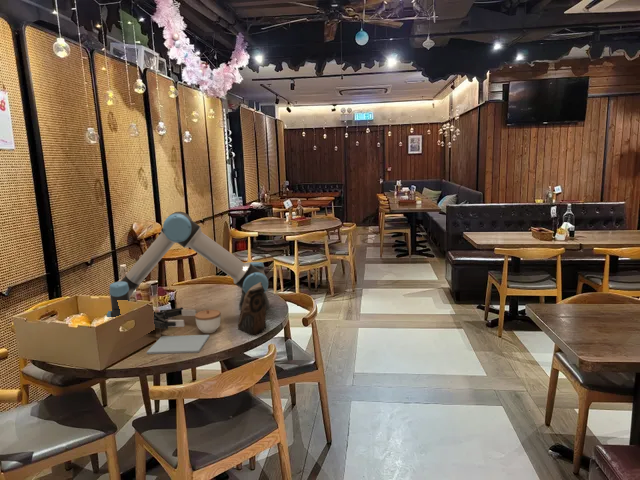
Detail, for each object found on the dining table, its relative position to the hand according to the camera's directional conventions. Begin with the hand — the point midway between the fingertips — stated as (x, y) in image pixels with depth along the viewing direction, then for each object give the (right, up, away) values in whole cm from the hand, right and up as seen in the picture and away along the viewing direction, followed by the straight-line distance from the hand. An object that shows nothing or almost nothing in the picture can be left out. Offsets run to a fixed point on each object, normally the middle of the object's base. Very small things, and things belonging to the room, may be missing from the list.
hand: (190, 317), depth 190 cm
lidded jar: (+8, -6, 0) cm, 10 cm away
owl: (+27, -5, 0) cm, 28 cm away
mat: (0, -8, -14) cm, 17 cm away
